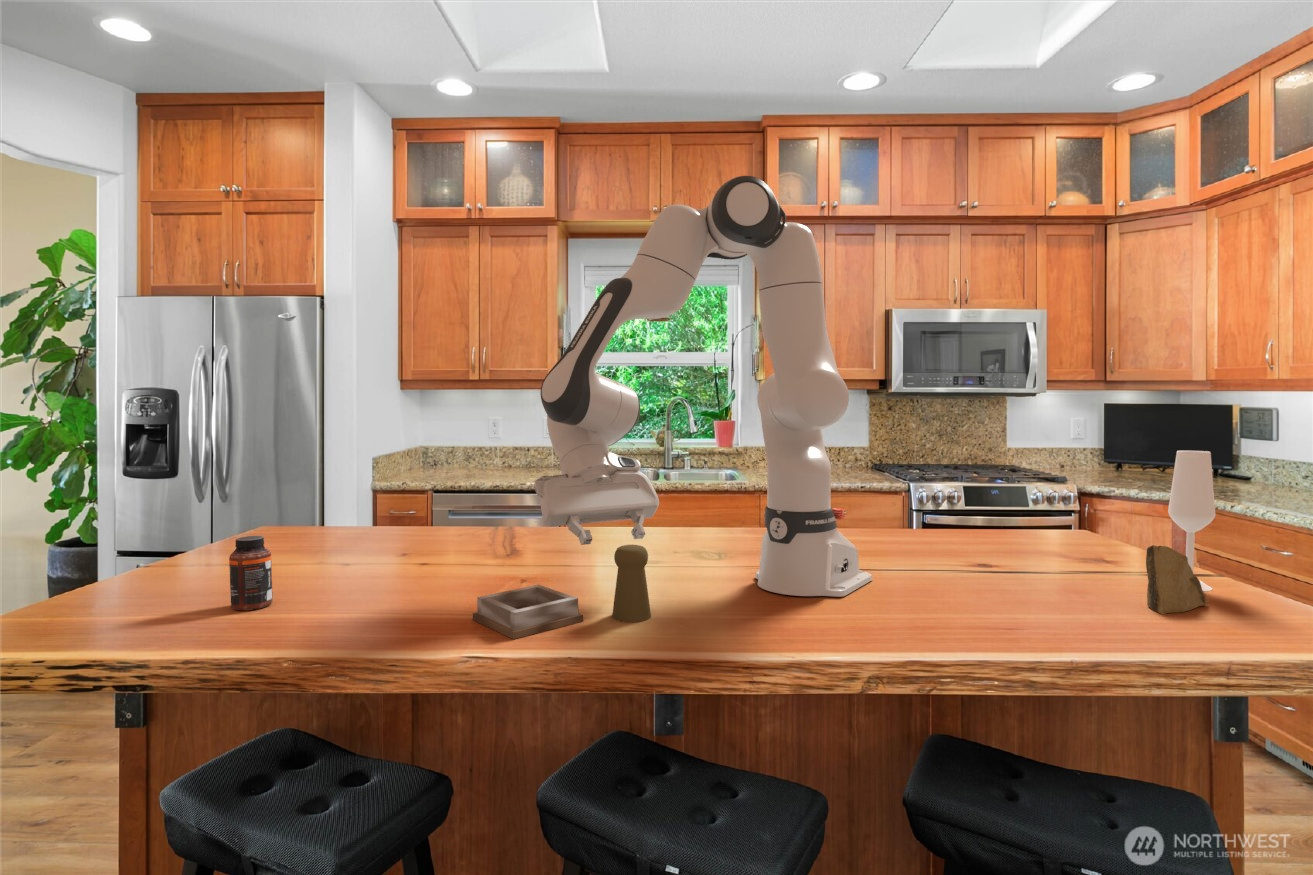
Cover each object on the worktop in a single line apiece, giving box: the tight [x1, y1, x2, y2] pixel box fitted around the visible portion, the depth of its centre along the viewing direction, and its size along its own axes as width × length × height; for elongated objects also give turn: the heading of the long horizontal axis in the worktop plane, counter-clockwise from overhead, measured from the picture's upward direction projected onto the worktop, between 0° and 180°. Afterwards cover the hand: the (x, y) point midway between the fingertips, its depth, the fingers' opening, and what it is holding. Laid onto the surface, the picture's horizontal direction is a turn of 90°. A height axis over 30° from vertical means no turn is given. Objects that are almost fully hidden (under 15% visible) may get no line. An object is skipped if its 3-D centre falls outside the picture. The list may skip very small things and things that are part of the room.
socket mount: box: [472, 584, 584, 640], centre depth 107 cm, size 12×12×4 cm
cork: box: [611, 544, 652, 623], centre depth 109 cm, size 6×6×11 cm
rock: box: [1145, 544, 1209, 615], centre depth 112 cm, size 11×9×10 cm
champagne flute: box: [1167, 450, 1217, 592], centre depth 125 cm, size 7×7×24 cm
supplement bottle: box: [228, 535, 273, 611], centre depth 115 cm, size 6×6×11 cm
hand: (614, 539), depth 114 cm, fingers open, 8 cm apart
